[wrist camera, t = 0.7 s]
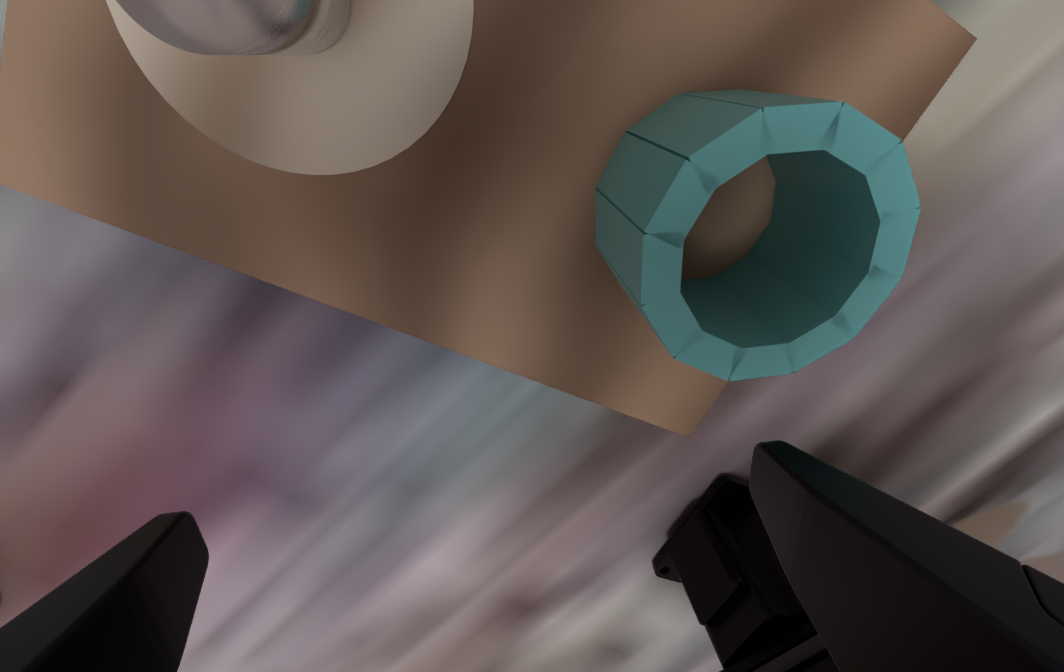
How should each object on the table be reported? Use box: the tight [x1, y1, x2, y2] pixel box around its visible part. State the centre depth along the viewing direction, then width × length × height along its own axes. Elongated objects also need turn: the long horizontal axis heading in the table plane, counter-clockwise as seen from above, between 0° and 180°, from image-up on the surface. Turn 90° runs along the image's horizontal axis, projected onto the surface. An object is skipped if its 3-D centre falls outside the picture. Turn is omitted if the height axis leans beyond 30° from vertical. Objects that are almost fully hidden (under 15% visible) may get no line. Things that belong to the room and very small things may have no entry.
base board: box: [0, 0, 977, 437], centre depth 17 cm, size 24×16×2 cm, turn 63°
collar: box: [595, 89, 921, 381], centre depth 16 cm, size 7×7×5 cm
